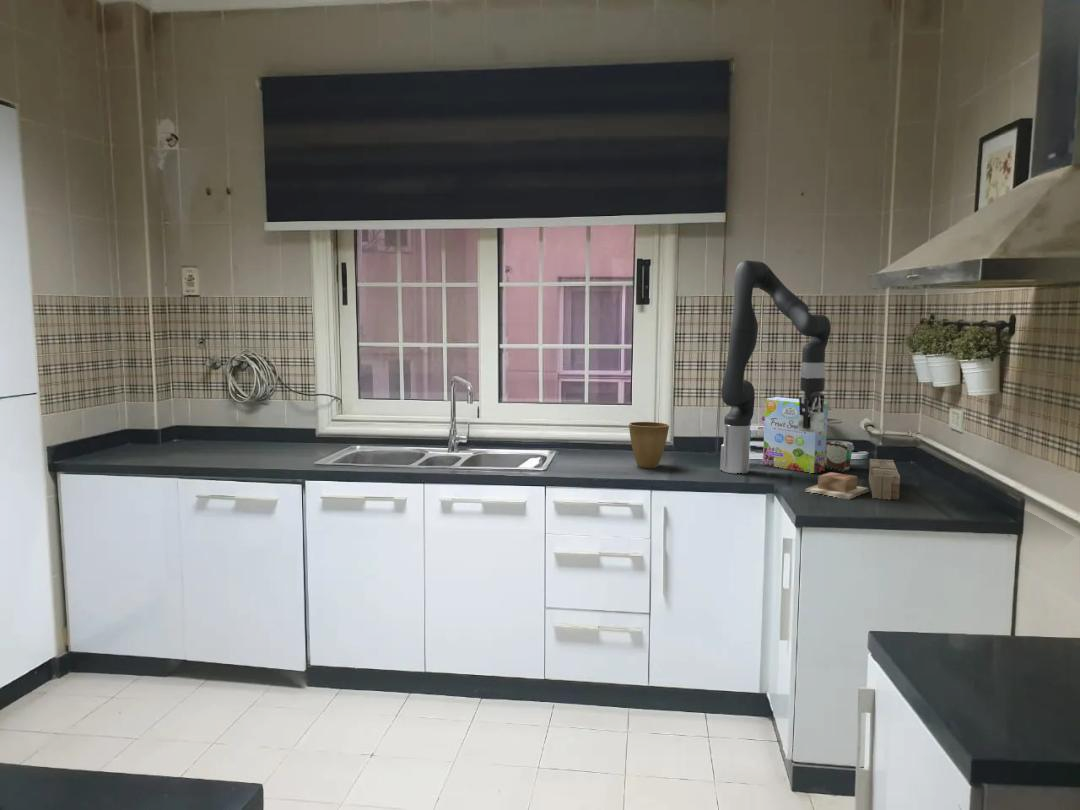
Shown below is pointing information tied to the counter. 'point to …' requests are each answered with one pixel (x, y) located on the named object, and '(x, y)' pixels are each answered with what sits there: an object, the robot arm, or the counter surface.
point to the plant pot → (648, 442)
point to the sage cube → (812, 422)
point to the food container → (839, 454)
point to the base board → (838, 494)
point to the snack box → (792, 438)
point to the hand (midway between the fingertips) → (810, 427)
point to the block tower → (884, 479)
